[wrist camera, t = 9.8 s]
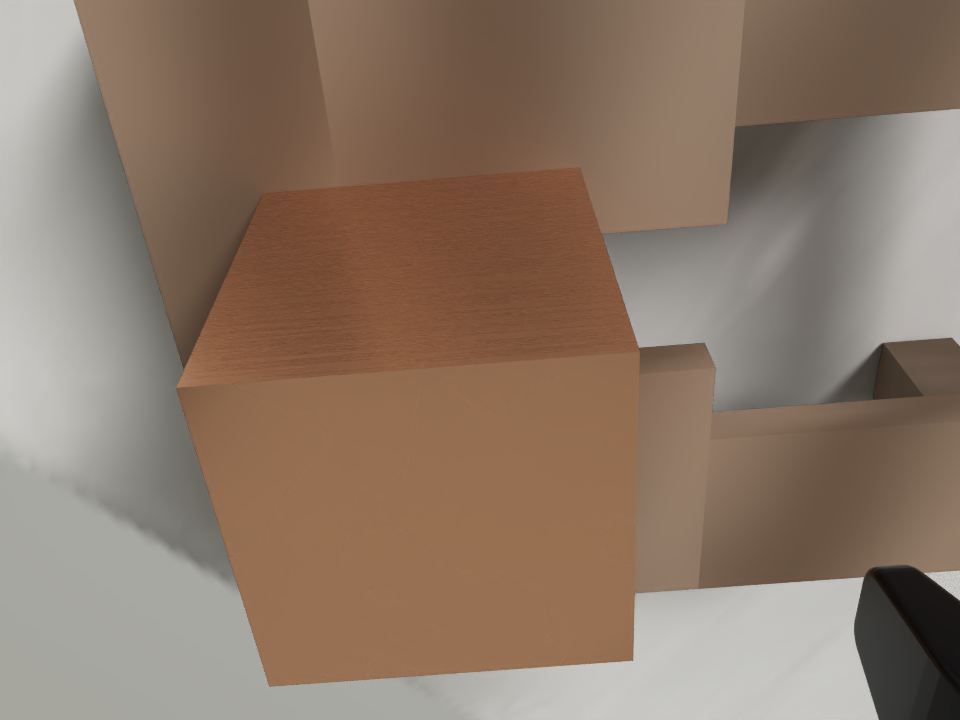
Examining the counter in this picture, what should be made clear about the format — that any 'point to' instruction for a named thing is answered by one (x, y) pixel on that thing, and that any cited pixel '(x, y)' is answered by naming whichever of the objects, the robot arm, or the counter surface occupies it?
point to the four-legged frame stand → (615, 199)
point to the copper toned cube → (423, 429)
